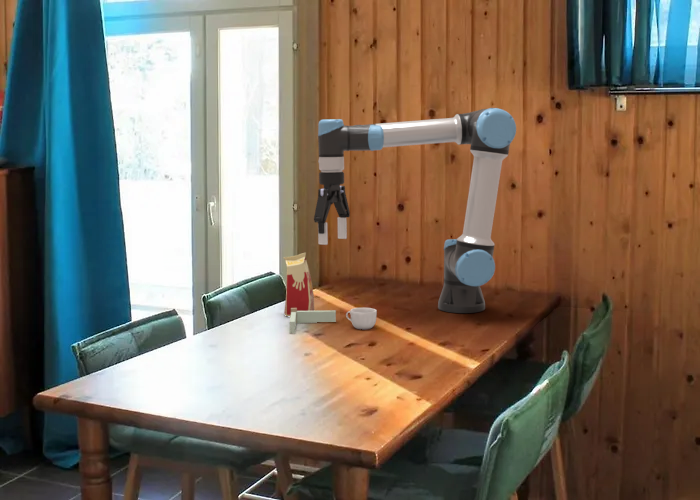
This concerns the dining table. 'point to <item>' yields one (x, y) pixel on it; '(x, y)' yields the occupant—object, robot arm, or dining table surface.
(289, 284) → the milk carton
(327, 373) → the dining table surface
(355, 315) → the teacup
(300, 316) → the corner fence
